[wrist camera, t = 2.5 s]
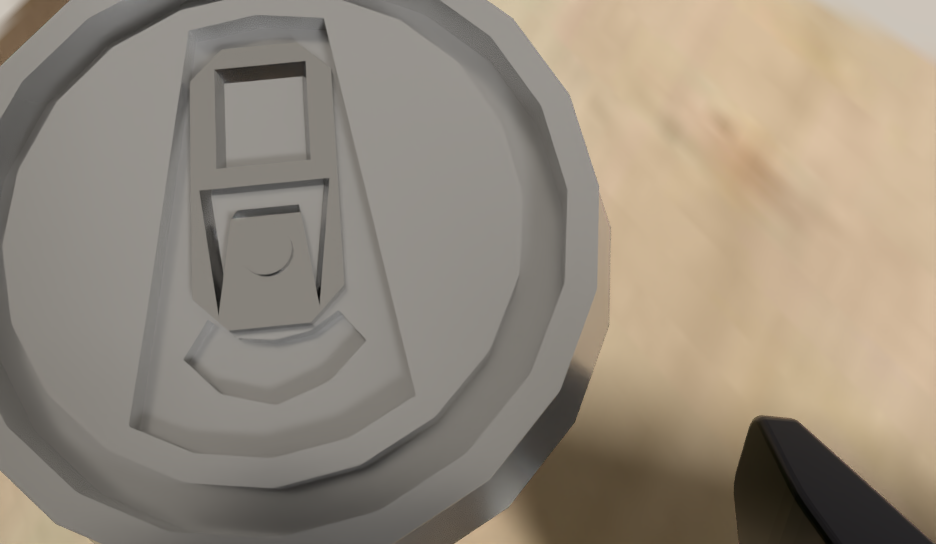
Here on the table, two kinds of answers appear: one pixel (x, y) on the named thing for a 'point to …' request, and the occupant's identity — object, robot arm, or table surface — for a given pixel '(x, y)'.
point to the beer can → (290, 269)
